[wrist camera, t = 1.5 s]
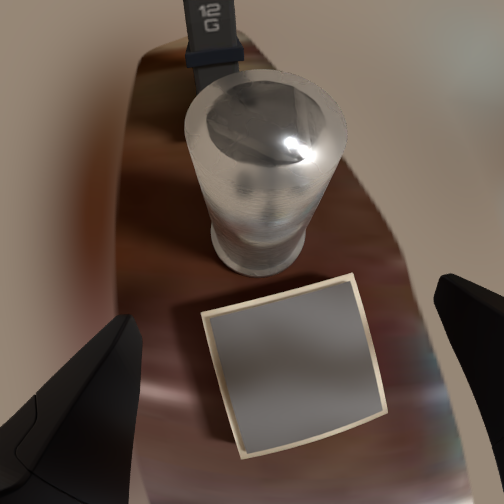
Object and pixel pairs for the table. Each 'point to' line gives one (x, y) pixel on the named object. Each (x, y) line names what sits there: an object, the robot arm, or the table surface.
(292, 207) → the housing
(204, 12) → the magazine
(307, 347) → the stand
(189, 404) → the table surface
